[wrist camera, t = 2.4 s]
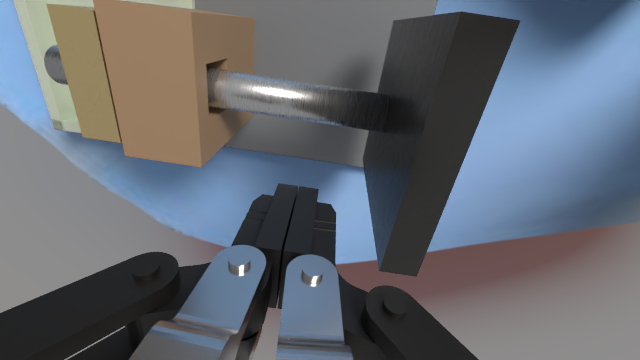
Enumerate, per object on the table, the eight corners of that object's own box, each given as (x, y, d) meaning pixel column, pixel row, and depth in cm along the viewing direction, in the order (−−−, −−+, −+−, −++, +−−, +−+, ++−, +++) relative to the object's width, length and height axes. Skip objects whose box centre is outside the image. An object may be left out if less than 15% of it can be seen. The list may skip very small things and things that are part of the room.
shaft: (418, 24, 17) (520, 20, 7) (382, 162, 21) (416, 276, 11) (98, -24, 17) (-231, -93, 7) (126, 123, 21) (-56, 205, 11)
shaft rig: (435, -6, 20) (520, -35, 10) (388, 166, 26) (414, 246, 16) (32, -67, 19) (-253, -152, 10) (82, 120, 26) (-67, 174, 16)
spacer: (168, 15, 17) (93, 10, 12) (178, 112, 20) (120, 143, 15) (135, 10, 17) (45, 3, 12) (150, 108, 20) (82, 137, 15)
